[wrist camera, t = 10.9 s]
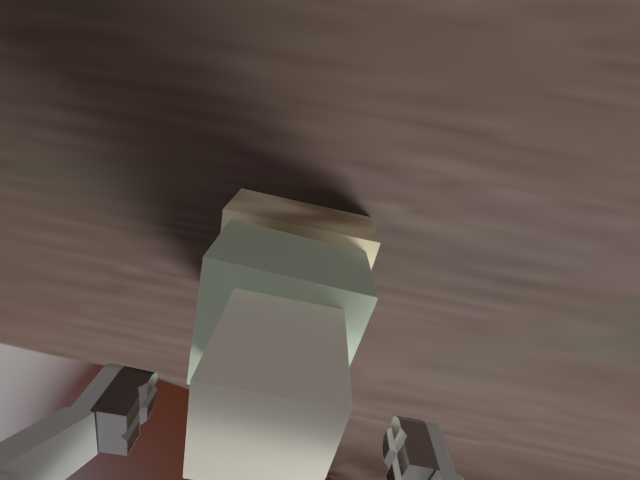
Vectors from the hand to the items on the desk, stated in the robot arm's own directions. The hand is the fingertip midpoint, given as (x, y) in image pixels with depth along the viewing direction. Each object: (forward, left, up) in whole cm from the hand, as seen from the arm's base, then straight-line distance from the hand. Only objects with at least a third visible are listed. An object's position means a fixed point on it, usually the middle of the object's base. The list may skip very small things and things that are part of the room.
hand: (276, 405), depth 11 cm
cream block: (0, 0, -3) cm, 3 cm away
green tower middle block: (+1, 0, -7) cm, 7 cm away
